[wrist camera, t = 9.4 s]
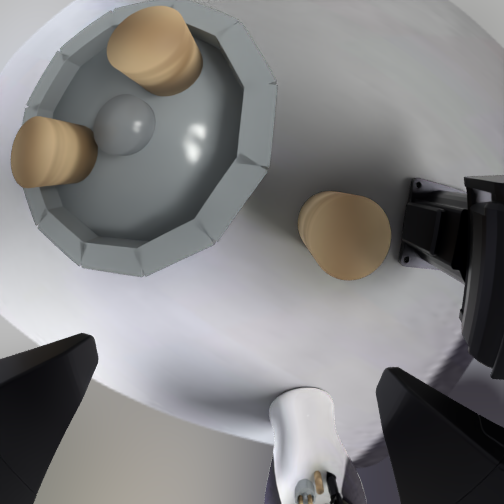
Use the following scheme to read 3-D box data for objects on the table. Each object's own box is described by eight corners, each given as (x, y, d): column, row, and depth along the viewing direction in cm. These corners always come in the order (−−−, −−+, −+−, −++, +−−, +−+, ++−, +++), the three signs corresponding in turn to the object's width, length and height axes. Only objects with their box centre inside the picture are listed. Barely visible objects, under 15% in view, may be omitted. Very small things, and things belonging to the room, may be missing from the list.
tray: (282, 18, 14) (285, -4, 11) (257, 274, 19) (256, 290, 16) (64, 43, 14) (46, 32, 11) (42, 247, 19) (20, 256, 16)
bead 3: (363, 196, 18) (397, 202, 13) (354, 258, 19) (381, 282, 14) (301, 186, 18) (317, 189, 13) (293, 252, 19) (304, 276, 14)
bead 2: (175, 107, 15) (146, 84, 11) (129, 81, 15) (92, 58, 10) (216, 56, 14) (202, 18, 10) (167, 33, 14) (142, -1, 9)
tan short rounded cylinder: (101, 122, 16) (58, 110, 11) (95, 183, 17) (50, 187, 12) (58, 128, 16) (14, 122, 11) (53, 184, 17) (9, 189, 12)
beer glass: (351, 402, 22) (394, 536, 8) (298, 438, 24) (311, 562, 9) (304, 370, 21) (334, 539, 7) (248, 411, 23) (239, 558, 8)
